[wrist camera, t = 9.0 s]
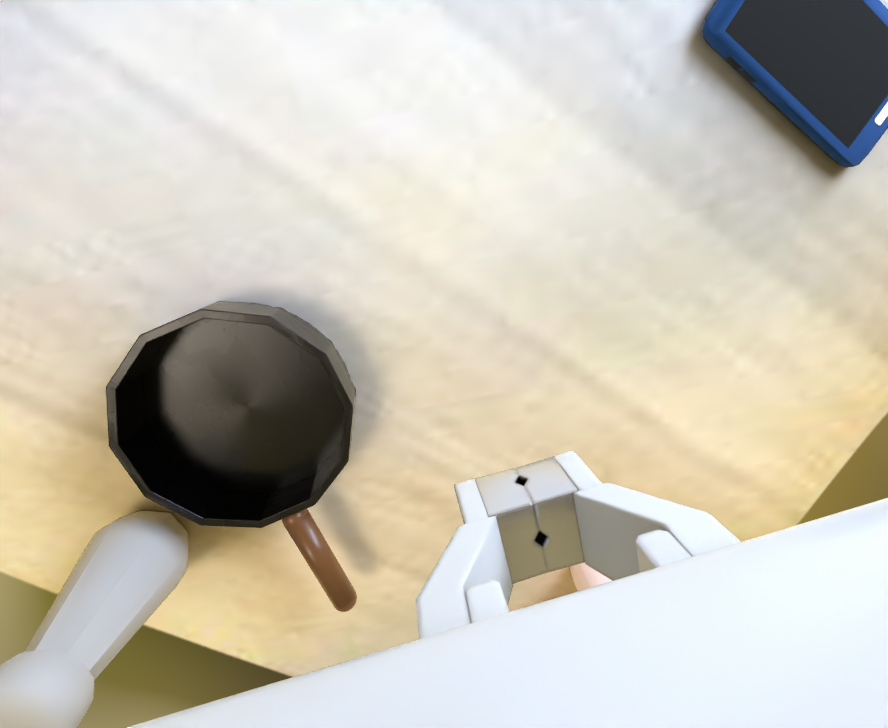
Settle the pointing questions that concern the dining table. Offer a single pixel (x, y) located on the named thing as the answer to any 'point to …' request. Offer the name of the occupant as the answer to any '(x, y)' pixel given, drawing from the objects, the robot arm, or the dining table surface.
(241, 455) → the pan
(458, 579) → the robot arm
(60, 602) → the salt shaker
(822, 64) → the cell phone
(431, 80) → the dining table surface
